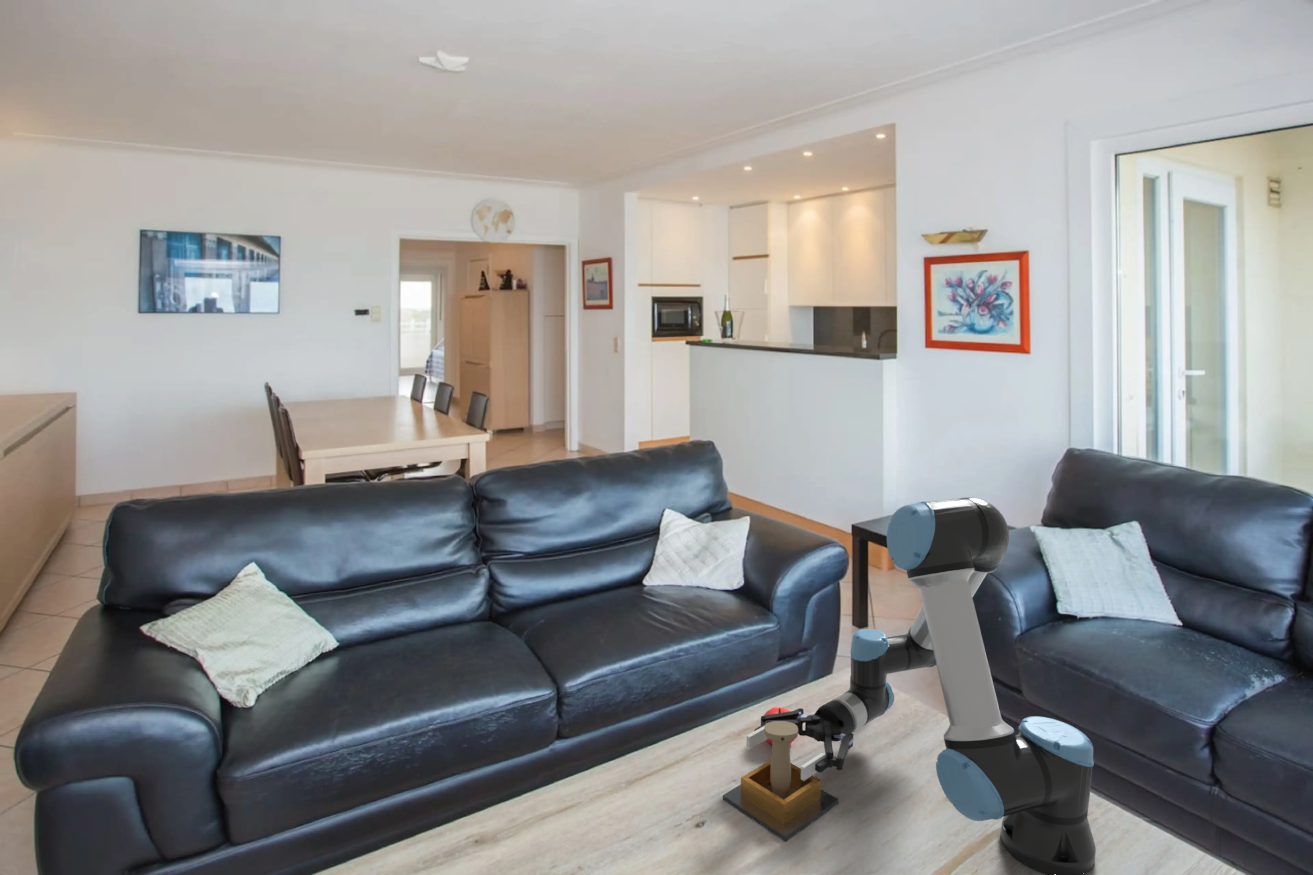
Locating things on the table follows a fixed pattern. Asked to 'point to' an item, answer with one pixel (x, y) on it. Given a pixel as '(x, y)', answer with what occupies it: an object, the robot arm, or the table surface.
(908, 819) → the table surface
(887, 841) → the table surface
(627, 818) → the table surface
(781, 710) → the apple
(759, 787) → the socket
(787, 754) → the handle
